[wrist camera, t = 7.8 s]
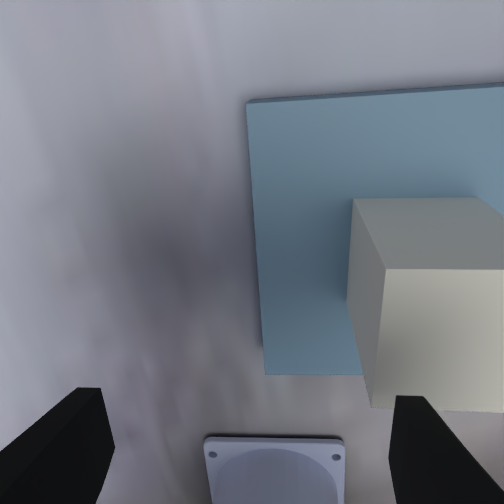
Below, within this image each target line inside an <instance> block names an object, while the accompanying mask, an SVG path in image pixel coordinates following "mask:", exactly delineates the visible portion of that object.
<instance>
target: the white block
mask: <svg viewBox="0 0 504 504" xmlns="http://www.w3.org/2000/svg"><path fill="white" fill-rule="evenodd" d="M346 303H347V307H348V311H349V316H350V320H351V324H352V328H353V333H354V337H355V341H356V345H357V350H358V354H359V358H360V362H361V367H362V371H363V375H364V379H365V384H366V388H367V392H368V397H369V401H370V405H371V408H389V409H394V407H395V399H396V395H406V396H423V397H425V398H426V399H427V401H428V402H429V403H430V404H431V406H432V407H433V408H434V409H435V410H444V411H472V412H499V413H504V216H503V215H502V214H500V213H499V212H498V211H496V210H495V209H493V208H492V207H490V206H489V205H488V204H486V203H485V202H483V201H482V200H481V199H479V198H478V197H460V198H353V207H352V222H351V237H350V252H349V267H348V282H347V297H346Z"/></svg>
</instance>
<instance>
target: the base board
mask: <svg viewBox="0 0 504 504" xmlns="http://www.w3.org/2000/svg"><path fill="white" fill-rule="evenodd" d="M246 114H247V128H248V142H249V156H250V170H251V184H252V198H253V212H254V226H255V240H256V254H257V268H258V282H259V296H260V310H261V324H262V338H263V352H264V366H265V375H363V371H362V367H361V362H360V358H359V354H358V350H357V345H356V341H355V337H354V333H353V328H352V324H351V320H350V316H349V311H348V307H347V303H346V297H347V282H348V267H349V252H350V237H351V222H352V207H353V198H460V197H478V198H479V199H481V200H482V201H483V202H485V203H486V204H488V205H489V206H490V207H492V208H493V209H495V210H496V211H498V212H499V213H500V214H502V215H503V216H504V83H490V84H475V85H460V86H445V87H431V88H416V89H401V90H387V91H372V92H357V93H342V94H328V95H313V96H298V97H284V98H269V99H254V100H250V101H249V102H248V103H246Z"/></svg>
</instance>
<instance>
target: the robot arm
mask: <svg viewBox="0 0 504 504" xmlns="http://www.w3.org/2000/svg"><path fill="white" fill-rule="evenodd" d="M203 449H204V455H205V461H206V467H207V474H208V480H209V486H210V492H211V498H212V504H344V484H345V445H344V443H343V442H342V441H341V440H338V439H300V438H244V437H209V438H207V439H206V440H205V441H204V446H203ZM114 450H115V445H114V440H113V436H112V432H111V428H110V424H109V420H108V416H107V412H106V408H105V404H104V400H103V396H102V392H101V388H81V387H77V388H76V389H75V390H74V391H72V392H71V393H70V394H69V395H67V396H66V397H65V398H64V399H63V400H61V401H60V402H59V403H58V404H57V405H55V406H54V407H53V408H52V409H51V410H49V411H48V412H47V413H46V414H45V415H44V416H42V417H41V418H40V419H39V420H38V421H36V422H35V423H34V424H33V425H32V426H30V427H29V428H28V429H27V430H26V431H24V432H23V433H22V434H21V435H20V436H18V437H17V438H16V439H15V440H14V441H12V442H11V443H10V444H9V445H8V446H6V447H5V448H4V449H3V450H1V451H0V504H95V503H96V501H97V499H98V496H99V494H100V492H101V490H102V487H103V484H104V481H105V478H106V475H107V472H108V469H109V466H110V463H111V459H112V456H113V453H114ZM212 451H213V452H212ZM334 454H338V455H334ZM388 459H389V465H390V470H391V476H392V482H393V487H394V492H395V498H396V503H397V504H504V491H503V490H502V489H501V488H500V487H499V486H498V484H497V483H496V482H495V481H494V480H493V479H492V478H491V476H490V475H489V474H488V473H487V472H486V471H485V470H484V469H483V467H482V466H481V465H480V464H479V463H478V462H477V461H476V459H475V458H474V457H473V456H472V455H471V454H470V452H469V451H468V450H467V449H466V448H465V447H464V445H463V444H462V443H461V442H460V440H459V439H458V438H457V437H456V436H455V434H454V433H453V432H452V431H451V430H450V428H449V427H448V426H447V425H446V423H445V422H444V421H443V420H442V418H441V417H440V416H439V415H438V413H437V412H436V411H435V409H434V408H433V407H432V406H431V404H430V403H429V402H428V401H427V399H426V398H425V397H423V396H406V395H396V399H395V407H394V415H393V424H392V432H391V440H390V449H389V457H388Z"/></svg>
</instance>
